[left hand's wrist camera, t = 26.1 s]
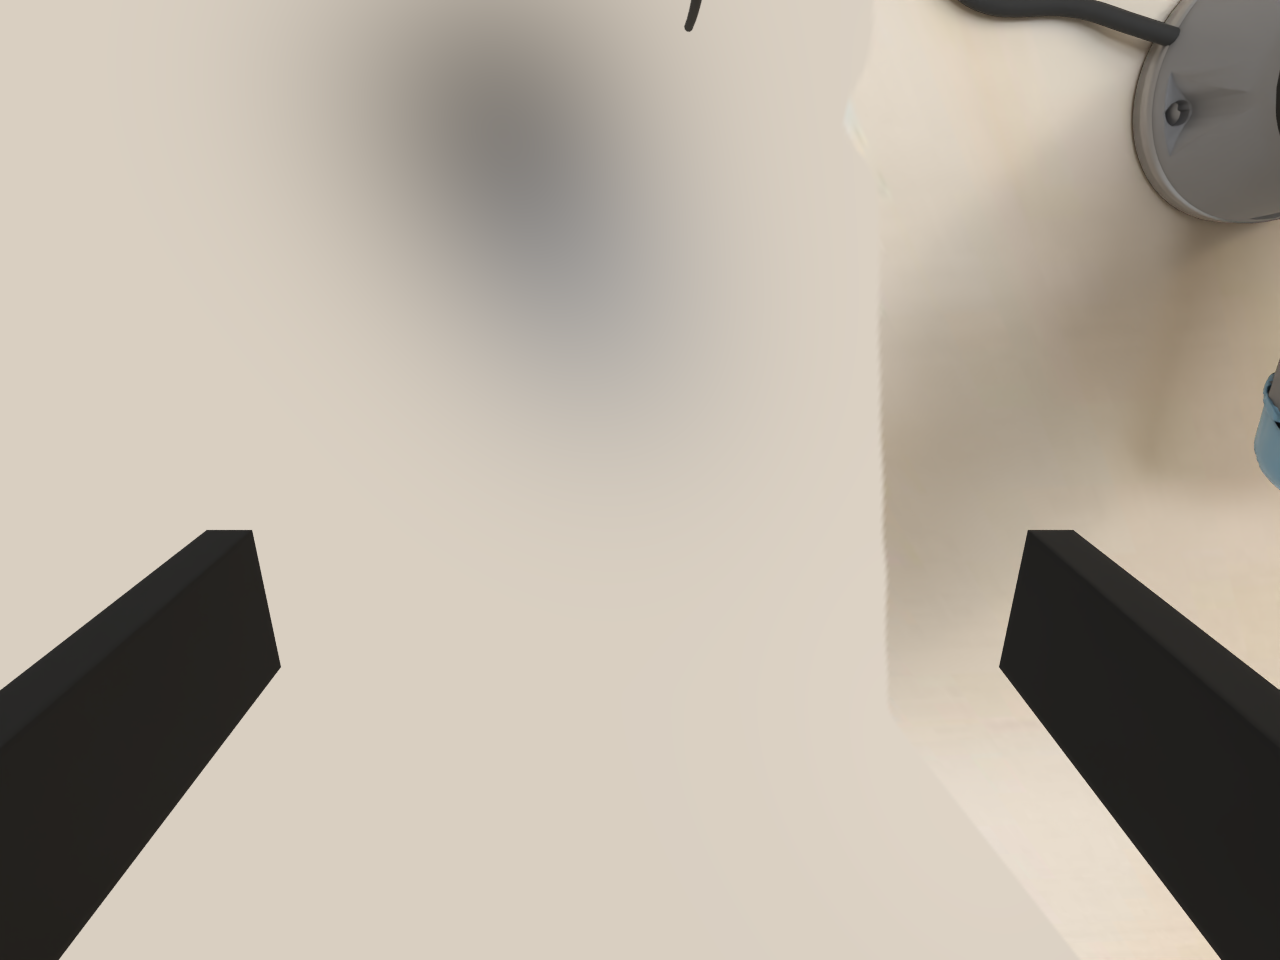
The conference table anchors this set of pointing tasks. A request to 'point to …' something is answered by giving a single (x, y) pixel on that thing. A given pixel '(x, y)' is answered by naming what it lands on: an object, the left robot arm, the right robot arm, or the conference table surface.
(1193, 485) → the conference table surface
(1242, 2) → the left robot arm
